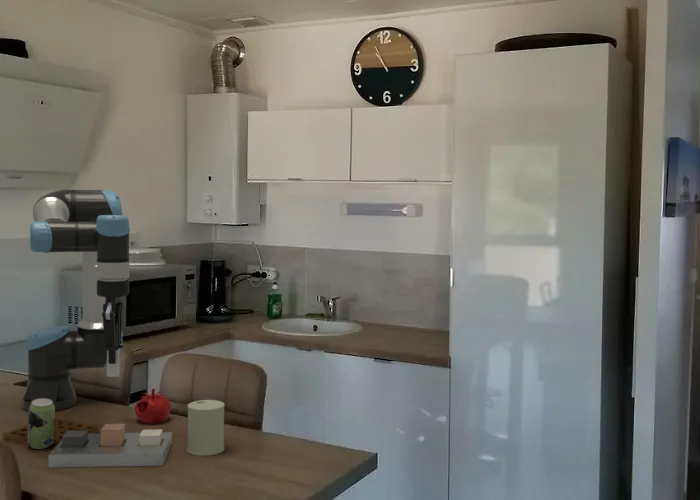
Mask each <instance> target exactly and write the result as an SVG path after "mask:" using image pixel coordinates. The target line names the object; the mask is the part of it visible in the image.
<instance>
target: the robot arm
mask: <svg viewBox="0 0 700 500" xmlns="http://www.w3.org/2000/svg"><path fill="white" fill-rule="evenodd" d="M32 218H33V221H32V222H31V223H30V224H29V249H30V250H31V252H34V253H44V254H47V253H74V252H75V253H82V319H81V320H80V321H79V322H78V323H77V326H76V327H77V328H76V330H71V328H70V326H69V325H54V326H53V325H52V326H47V327H42V328H39V329H36V330H34V331H32V332H30V334H29V335H28V337H27V338H28V339H27V348H26V350H27V352H28V353H27V358H28V359H27V363H28V364H27V371H28V372H27V374H28V375H27V376H28V377H27V378H28V379H27V384H26V387H25V390H24V394H23V396H22V399H21V408H22V409H23V410H25V411H27V412H29V406H30V405H31V404H32V401H33V400H35V399H40V398H46V399H50V400H52V401H53V404H54V406H55V411H61V410H66V409H69V408H72V407H74V406H76V404H77V395H76V391H75V389H74V386H73V383H72V381H71V370H81V369H82V370H83V369H84V370H85V369H97V368H101V369H103V368H106V377H107V378H108V377H109V378H111V377H112V378H116V377H117V378H119V377H120V374H121V373H120V366H121V365H120V359H121V355H122V350H123V348H124V345H123V336H124V335H123V329H122V328H123V315H124V314H123V312H124V303H123V302H122V297H126V296H128V295H130V281H129V280H128V279H129V278H130V232H131V231H130V230H131V228H130V221H129V220H130V219H129V217H128V216H126V215H125V214H123V209H122V203H121V200H120V196H119V194H118V193H117V191H114V190H106V189H105V190H104V189H60V190H55V191H52V192H49V193H47V194H45V195H43V196H41V197H40V198H39V199H38V200H37V201H36V202H35V203H34V206H33V208H32Z"/></svg>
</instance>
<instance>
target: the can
mask: <svg viewBox="0 0 700 500" xmlns="http://www.w3.org/2000/svg"><path fill="white" fill-rule="evenodd" d="M225 405H226V404H225V403H224V401H223V402H222V401H221V400H216V399H203V400H202V399H201V400H200V399H199V400H195V401H192V402H189V403H188V404H187V449H186V450H187V451H186V452H187V454H188V453H189V454H190V455H193V456H200V457H205V456H206V457H207V456H215V455H218V454H221V453H222V452H224V451H225Z"/></svg>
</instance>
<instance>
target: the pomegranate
mask: <svg viewBox="0 0 700 500" xmlns="http://www.w3.org/2000/svg"><path fill="white" fill-rule="evenodd" d="M155 392H156V388H152V389H151V394H149V393H147V392H142V396H141V397H140V400H139V401H138V402H136V404H135V405H134V412H135V416H136V418H137V420H138V421H139V422H141V423H143V424H148V425H149V424H150V425H151V424H152V425H153V424H155V425H156V424H161V423H164V422H165V421H166V420H167V419H168V418H169V416H170V412H171V408H172V405H171V402H170V399H169V398H167V396H168V395H166V394H163V392H162V391H158V392H156V393H155ZM160 393H161V394H160ZM143 394H144V395H143Z"/></svg>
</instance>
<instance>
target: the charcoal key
mask: <svg viewBox="0 0 700 500" xmlns="http://www.w3.org/2000/svg"><path fill="white" fill-rule="evenodd" d="M88 432H89V431H88V430H66V432H65V433H64V434H63V436H62V438H61V440H62V447H85V446H86V444H87V443H88Z"/></svg>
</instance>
